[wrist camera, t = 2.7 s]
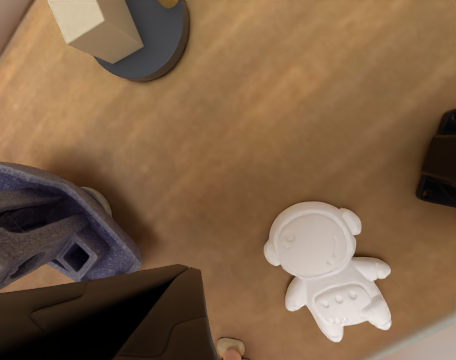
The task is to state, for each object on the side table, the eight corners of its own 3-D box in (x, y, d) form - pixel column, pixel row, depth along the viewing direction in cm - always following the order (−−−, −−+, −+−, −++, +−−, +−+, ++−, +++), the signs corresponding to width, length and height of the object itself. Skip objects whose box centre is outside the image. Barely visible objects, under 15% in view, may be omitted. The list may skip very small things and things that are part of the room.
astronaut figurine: (301, 338, 22) (304, 369, 19) (251, 218, 21) (246, 231, 18) (405, 317, 20) (427, 348, 17) (355, 182, 19) (370, 190, 16)
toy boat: (170, 236, 23) (41, 360, 10) (124, 287, 25) (-31, 441, 12) (55, 127, 23) (-206, 118, 11) (18, 185, 25) (-237, 235, 13)
